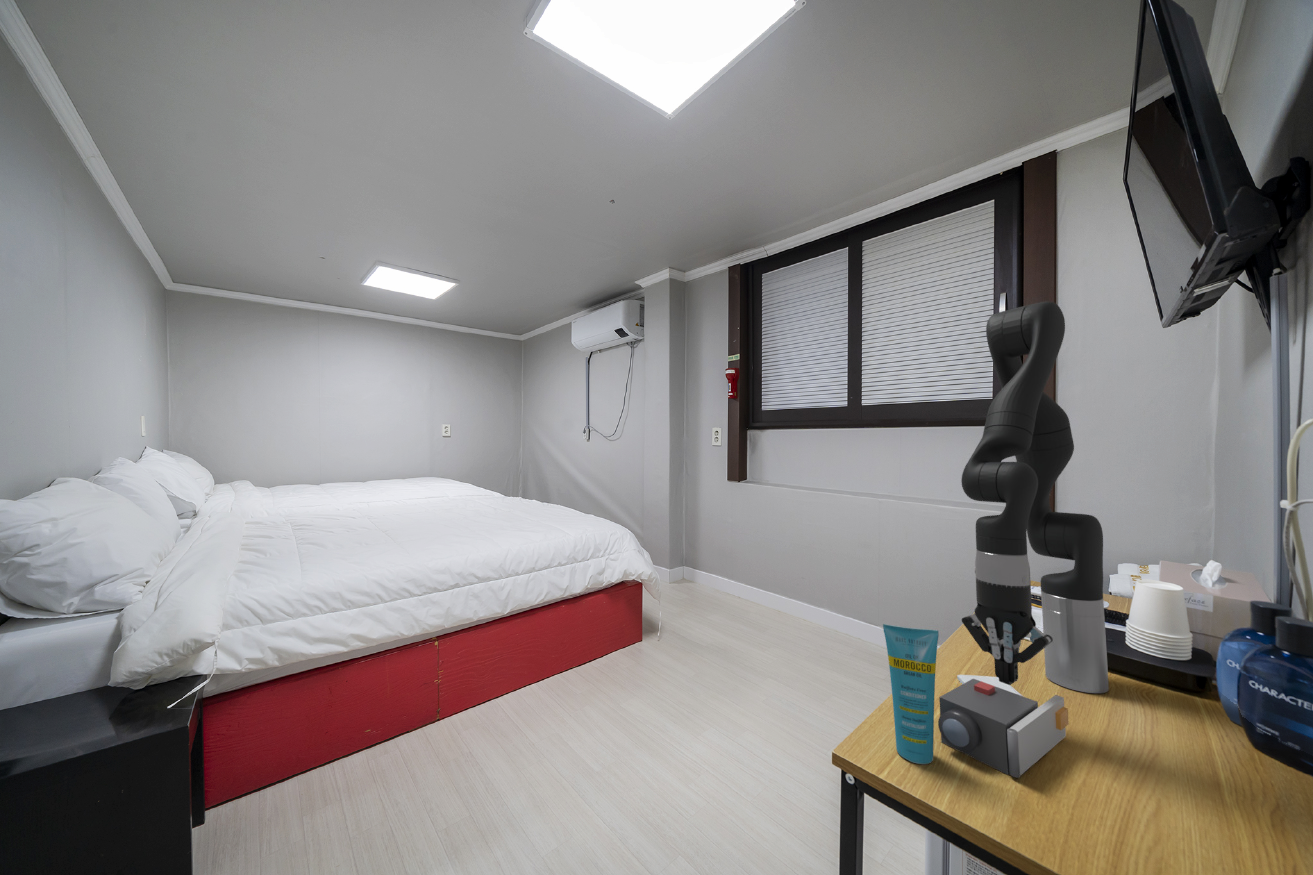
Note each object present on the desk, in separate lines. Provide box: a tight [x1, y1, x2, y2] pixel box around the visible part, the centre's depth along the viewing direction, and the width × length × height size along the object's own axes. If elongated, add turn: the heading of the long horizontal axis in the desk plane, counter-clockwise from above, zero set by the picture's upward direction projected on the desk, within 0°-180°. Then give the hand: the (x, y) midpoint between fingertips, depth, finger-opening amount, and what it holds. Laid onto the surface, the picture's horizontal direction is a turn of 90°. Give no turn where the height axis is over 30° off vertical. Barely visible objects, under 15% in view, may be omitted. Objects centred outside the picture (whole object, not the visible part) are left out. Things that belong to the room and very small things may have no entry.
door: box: [1007, 694, 1070, 779], centre depth 69 cm, size 18×2×6 cm, turn 122°
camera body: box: [937, 679, 1039, 776], centre depth 71 cm, size 13×9×8 cm
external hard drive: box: [956, 674, 1023, 696], centre depth 86 cm, size 2×8×12 cm
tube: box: [882, 623, 939, 765], centre depth 70 cm, size 7×5×19 cm, turn 69°
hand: (1006, 682), depth 78 cm, fingers closed
